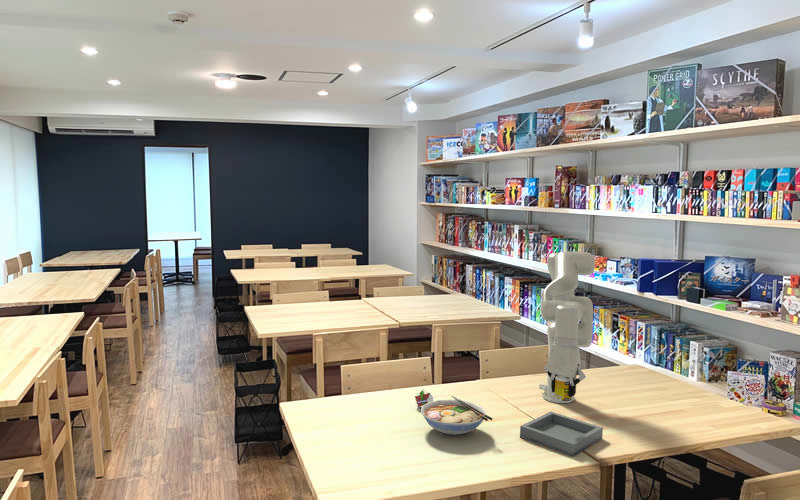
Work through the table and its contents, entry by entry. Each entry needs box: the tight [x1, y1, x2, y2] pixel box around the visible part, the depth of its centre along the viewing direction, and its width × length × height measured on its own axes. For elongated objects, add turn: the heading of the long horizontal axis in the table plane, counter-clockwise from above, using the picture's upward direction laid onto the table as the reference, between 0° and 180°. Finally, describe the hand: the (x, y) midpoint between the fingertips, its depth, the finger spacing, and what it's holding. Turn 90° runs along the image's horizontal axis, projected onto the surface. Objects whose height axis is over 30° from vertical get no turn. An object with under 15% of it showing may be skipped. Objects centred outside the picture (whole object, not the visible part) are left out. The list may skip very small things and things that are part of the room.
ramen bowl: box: [420, 395, 493, 436], centre depth 203 cm, size 25×23×8 cm
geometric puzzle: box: [414, 389, 434, 408], centre depth 225 cm, size 7×7×8 cm
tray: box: [519, 411, 604, 457], centre depth 199 cm, size 20×20×4 cm
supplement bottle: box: [555, 375, 571, 404], centre depth 198 cm, size 6×6×10 cm
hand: (563, 393), depth 198 cm, fingers closed on supplement bottle, 5 cm apart
